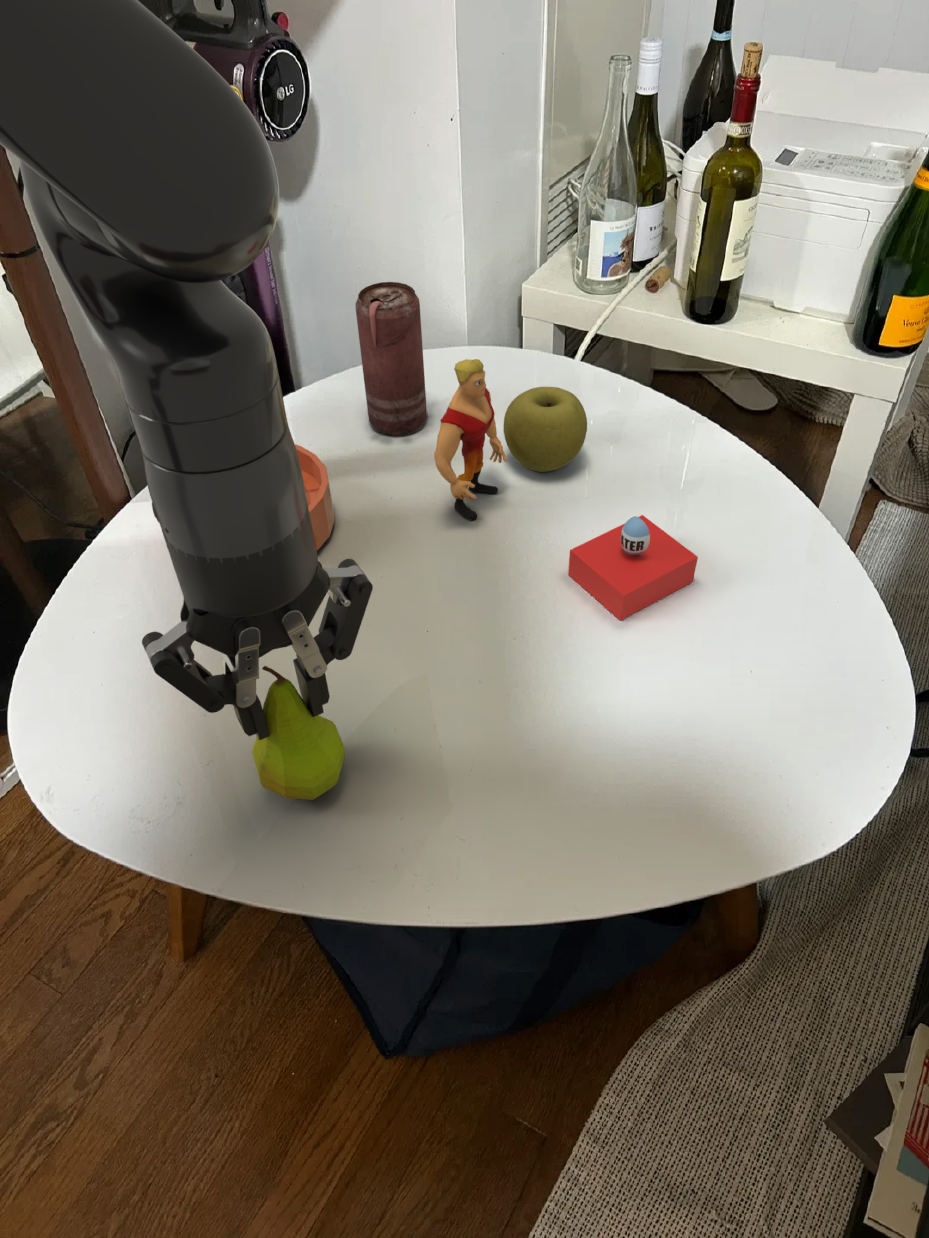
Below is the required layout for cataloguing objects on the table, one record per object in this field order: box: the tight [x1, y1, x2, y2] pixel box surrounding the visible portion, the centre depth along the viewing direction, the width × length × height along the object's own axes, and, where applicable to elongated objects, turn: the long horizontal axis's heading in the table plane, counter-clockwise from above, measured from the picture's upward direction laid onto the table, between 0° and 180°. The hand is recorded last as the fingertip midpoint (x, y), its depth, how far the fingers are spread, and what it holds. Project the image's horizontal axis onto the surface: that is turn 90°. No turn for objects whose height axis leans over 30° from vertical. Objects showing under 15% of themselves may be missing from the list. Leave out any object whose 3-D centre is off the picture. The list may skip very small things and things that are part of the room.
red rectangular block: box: [567, 514, 699, 621], centre depth 76 cm, size 8×7×6 cm
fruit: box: [251, 665, 346, 801], centre depth 60 cm, size 6×6×12 cm
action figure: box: [433, 358, 508, 521], centre depth 81 cm, size 10×4×15 cm, turn 152°
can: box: [354, 281, 428, 437], centre depth 91 cm, size 6×6×14 cm
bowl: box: [295, 444, 336, 552], centre depth 83 cm, size 14×14×5 cm
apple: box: [503, 386, 588, 473], centre depth 88 cm, size 8×8×7 cm
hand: (286, 716), depth 60 cm, fingers closed on fruit, 3 cm apart
